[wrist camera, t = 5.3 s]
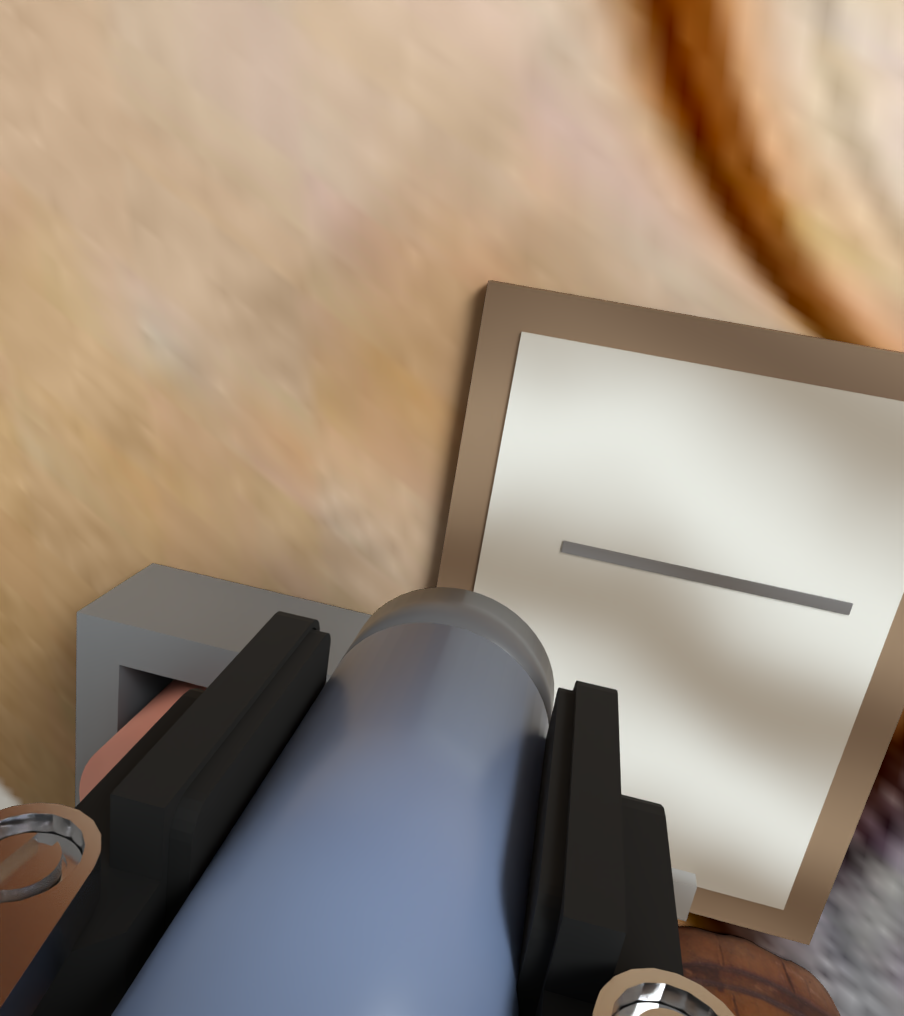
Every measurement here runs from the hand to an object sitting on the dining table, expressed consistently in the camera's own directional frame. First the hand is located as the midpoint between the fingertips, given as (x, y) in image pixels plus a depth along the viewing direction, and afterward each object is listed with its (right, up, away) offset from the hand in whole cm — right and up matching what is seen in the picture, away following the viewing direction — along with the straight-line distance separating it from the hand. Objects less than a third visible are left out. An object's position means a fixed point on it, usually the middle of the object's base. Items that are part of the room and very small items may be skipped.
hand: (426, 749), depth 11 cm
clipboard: (+6, 0, +10) cm, 12 cm away
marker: (0, +1, +2) cm, 2 cm away
